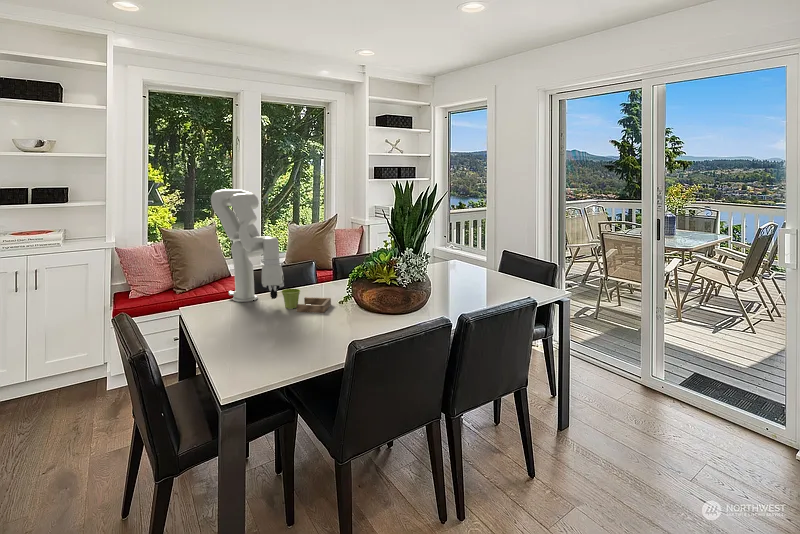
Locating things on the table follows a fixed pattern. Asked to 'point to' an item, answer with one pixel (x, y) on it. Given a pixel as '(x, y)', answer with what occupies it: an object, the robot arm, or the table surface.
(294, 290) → the plant pot
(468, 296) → the table surface
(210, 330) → the table surface
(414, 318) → the table surface
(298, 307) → the walnut collar
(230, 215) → the robot arm
